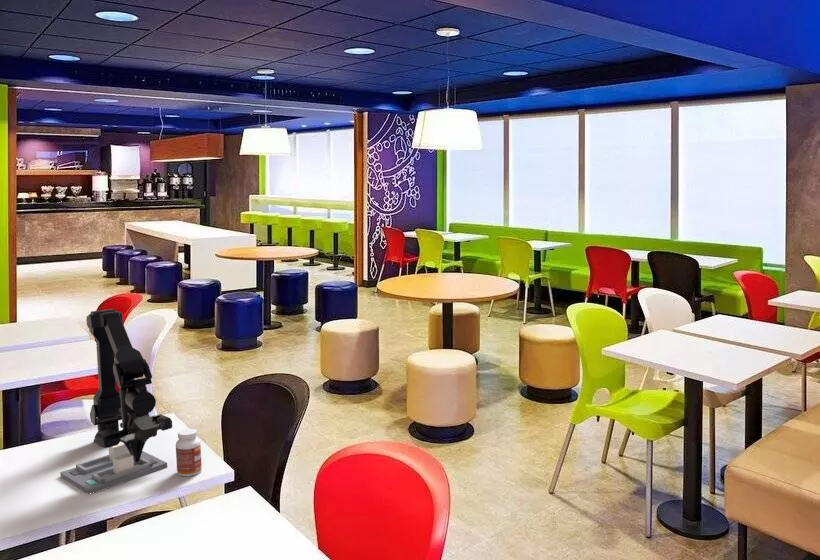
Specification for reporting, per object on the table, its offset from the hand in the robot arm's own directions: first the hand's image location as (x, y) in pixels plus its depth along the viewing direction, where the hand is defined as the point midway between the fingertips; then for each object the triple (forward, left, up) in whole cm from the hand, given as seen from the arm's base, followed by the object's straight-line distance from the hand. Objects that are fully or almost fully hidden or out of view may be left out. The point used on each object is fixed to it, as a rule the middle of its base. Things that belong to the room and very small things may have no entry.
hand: (136, 461), depth 181 cm
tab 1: (-9, 0, -1) cm, 9 cm away
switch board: (-4, -4, -3) cm, 7 cm away
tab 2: (0, -4, -1) cm, 4 cm away
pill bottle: (+11, +9, -3) cm, 14 cm away
